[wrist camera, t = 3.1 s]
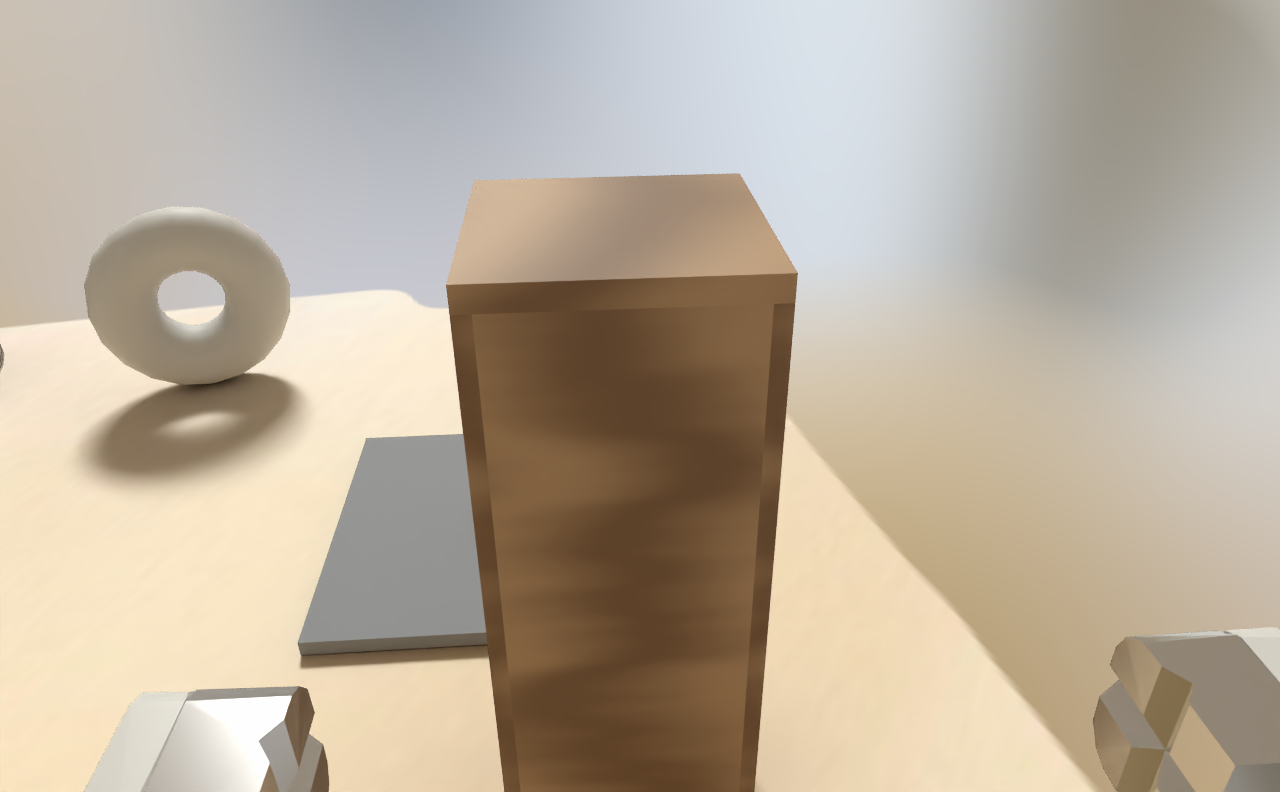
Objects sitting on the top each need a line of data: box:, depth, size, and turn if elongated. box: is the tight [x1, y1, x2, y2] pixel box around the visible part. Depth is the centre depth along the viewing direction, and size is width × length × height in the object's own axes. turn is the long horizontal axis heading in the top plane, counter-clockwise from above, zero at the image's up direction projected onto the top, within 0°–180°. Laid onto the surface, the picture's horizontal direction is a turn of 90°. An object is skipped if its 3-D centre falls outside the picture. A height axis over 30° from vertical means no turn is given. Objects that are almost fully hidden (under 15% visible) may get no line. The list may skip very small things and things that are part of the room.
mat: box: [298, 434, 487, 655], centre depth 41 cm, size 16×14×1 cm
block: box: [446, 174, 798, 792], centre depth 24 cm, size 6×6×19 cm
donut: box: [84, 207, 290, 385], centre depth 50 cm, size 10×3×10 cm, turn 112°
